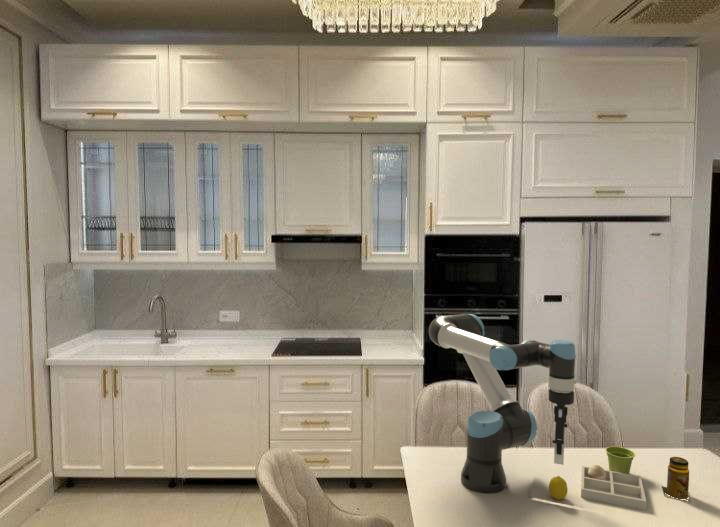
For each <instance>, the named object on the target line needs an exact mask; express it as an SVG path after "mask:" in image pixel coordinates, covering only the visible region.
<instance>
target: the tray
mask: <svg viewBox="0 0 720 527" xmlns="http://www.w3.org/2000/svg"><path fill="white" fill-rule="evenodd" d="M590 467H591V466H586V465H582V466H581V480H580V481H581V484H580V486H581V487H580V490H581V491H580V497H581V499H588V500H593V501H599V502H603V503H607V504H614V505H618V506H623V507H629V508H633V509H639V510H643V511H647V498H646V493H645V489H644V485H643V482H642V476H641V475H637V474H630V473H629V474H625V473H620V472H614V471H609V469H608V470H607V469H604V470H605V472H606V478H605V480H599V479H593V478H590V477H589V475H588V470H589V468H590Z"/></svg>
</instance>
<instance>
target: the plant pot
mask: <svg viewBox="0 0 720 527" xmlns="http://www.w3.org/2000/svg"><path fill="white" fill-rule="evenodd" d="M604 450H605V452H606V456H607V461H608V471H614V472H620V473H625V474H630V471H631V467H632V463H633V460H634V458H635V457H636V454H635V451H632V450H631V449H629V448H626V447H621V446H608V447H606V448H605V449H604Z"/></svg>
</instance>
